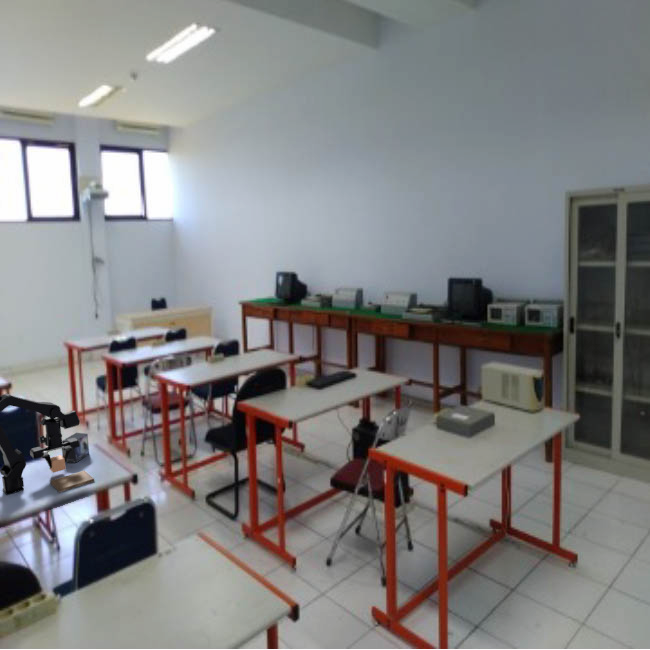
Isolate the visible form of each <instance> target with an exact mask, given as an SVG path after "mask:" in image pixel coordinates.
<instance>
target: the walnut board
mask: <svg viewBox="0 0 650 650" xmlns="http://www.w3.org/2000/svg"><path fill="white" fill-rule="evenodd" d="M49 481H50V484H51V485H52V486H53V488H55V490H56V491H57V492H58V493H61V492H65V491H68V490H71V489H74V488H77V487H80V486H83V485H87V484H89V483H90V484H91V483H93V482H95V478H94V477H93V476H92V475H90V474H89V473H88V472H87V471H86V470H85V469H84V470H82V471H79V472H78V471H77V472H75V473H71V474H68V475H65V476H62V477H58V478H55V479H51V480H49Z"/></svg>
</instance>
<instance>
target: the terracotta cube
mask: <svg viewBox="0 0 650 650" xmlns="http://www.w3.org/2000/svg"><path fill="white" fill-rule="evenodd" d="M50 459H51V465H52V468H51V469H50V468H49V471H51V472H52V473H53V474H54V473H58V472H61V471H65V470H66V467H67V466H66V463H65V458H64V457H63V456H62V454H58V455H55V456H52V457H51V456H50Z"/></svg>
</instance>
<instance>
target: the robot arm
mask: <svg viewBox="0 0 650 650" xmlns="http://www.w3.org/2000/svg"><path fill="white" fill-rule="evenodd" d="M10 406H11V407H16V408H18V409H19V408H20V409H24V410H28V411H32V412H36V413H39V414H41V415H42V416H45V417H46V418H45V417H43V418H42V419H41V421H40V422H39V424H40V425H42V426H45V435H39V436H38V442H39V444H44V445H45V447H43V448H42V447H41V446H37V447H33V448H31V449H30V450H29V454H30V457H32V459H38V458H41V459H45V462H46V464H47V466H48V467H49V470H50V469H51V468H52V465H51V459H50V458H51V455H50V454H49V452H52V451H56V450H60V449H61V453H62V454H61V456H63V457H64V458H65V464H66V463H67V462H66V460H67V457H68V455H69V453H70V451H72V450H73V449H72V448H76V447H79V446H80V442H79V440H77V439H76V438H71V439H67V440H66V442H65V443H62V441H63V434H62V428H63V429H64V430H67V429H70V428H74V427H79V425H80V418H79V415H78V414H77V411H76V410H71V411H68V412H65V413H63V412H62V411H61V407H60V405H58V404H55V403H53V402H49V401H35V400H30V399H27V398H23V397H19V396H15V395H12V394H9V393H3V394H2V395H0V413H1V412H2V411H4V410H5V409H6V408H7V407H10ZM71 447H72V448H71ZM0 451H1V453H2V458H3V463H4V464H3V465H2V467H0V475H2V476H1V479H2V487H3V488H2V491H3V493H4V494H5V495H10V494H14V493H19V492H20V491H24V490H25V489H24V486H25V484H24V477H23V472H24V470H25V469H26V467H27V463H26V461H27V459H25V456H24V454H23V452H22V451H20V450H18V448H15V449H14V447H13V445H12V443H11V441H10V439H9V438H8V436H7V434H6V432H5V430H4V429H3V427H2V425H1V424H0Z"/></svg>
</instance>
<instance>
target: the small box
mask: <svg viewBox="0 0 650 650" xmlns="http://www.w3.org/2000/svg"><path fill="white" fill-rule="evenodd" d="M71 438H76V439H77V440H79V442H80V446H79V447H76V448H72V447H71V448H72V449H73V450H72V451H70V453H69V455H68V457H67V460H66V463H70V464H77V463H78V462H80V461H81V460H83V459H84V458H86V457H87V456H89V455H90V448H89V435H88V433H82V432H75V433H73V434H71V435H70V436H68V437H66V438H65V439H62V443H65V442H66V440H67V439H71Z"/></svg>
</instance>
